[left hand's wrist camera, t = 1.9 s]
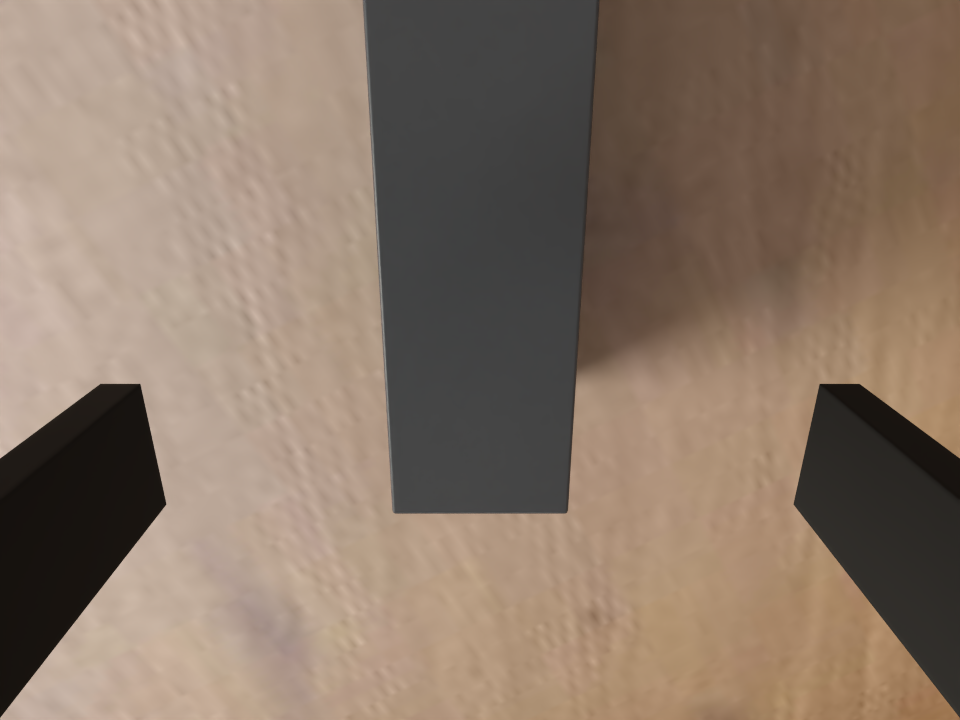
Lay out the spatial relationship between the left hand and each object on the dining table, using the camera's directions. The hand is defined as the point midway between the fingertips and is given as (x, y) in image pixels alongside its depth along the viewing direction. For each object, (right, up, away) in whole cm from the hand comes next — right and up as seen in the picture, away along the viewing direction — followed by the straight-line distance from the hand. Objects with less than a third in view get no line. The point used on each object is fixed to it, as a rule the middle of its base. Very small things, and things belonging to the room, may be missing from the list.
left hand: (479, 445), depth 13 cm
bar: (0, +12, +9) cm, 15 cm away
